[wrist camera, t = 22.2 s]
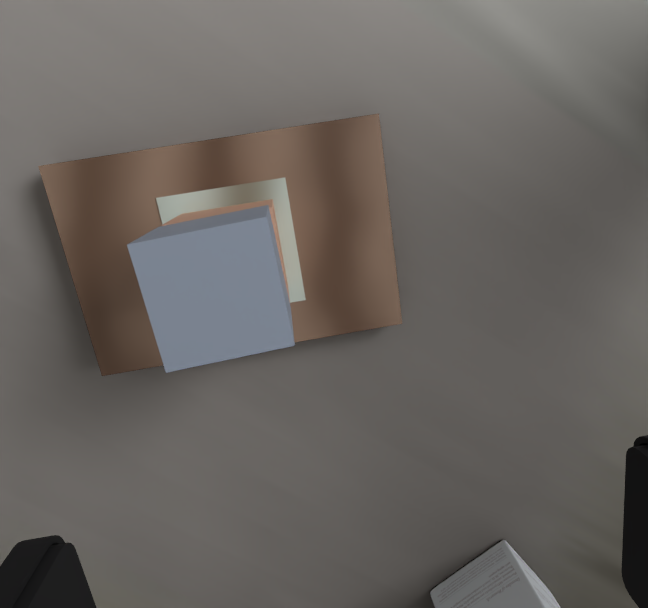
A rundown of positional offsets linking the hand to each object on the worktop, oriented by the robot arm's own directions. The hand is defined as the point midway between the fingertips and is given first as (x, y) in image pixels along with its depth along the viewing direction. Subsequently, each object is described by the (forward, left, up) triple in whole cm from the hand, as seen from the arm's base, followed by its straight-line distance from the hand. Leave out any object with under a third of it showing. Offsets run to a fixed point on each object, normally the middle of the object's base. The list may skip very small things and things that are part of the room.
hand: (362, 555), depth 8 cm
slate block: (+3, -2, -16) cm, 17 cm away
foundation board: (+3, -2, -23) cm, 24 cm away
